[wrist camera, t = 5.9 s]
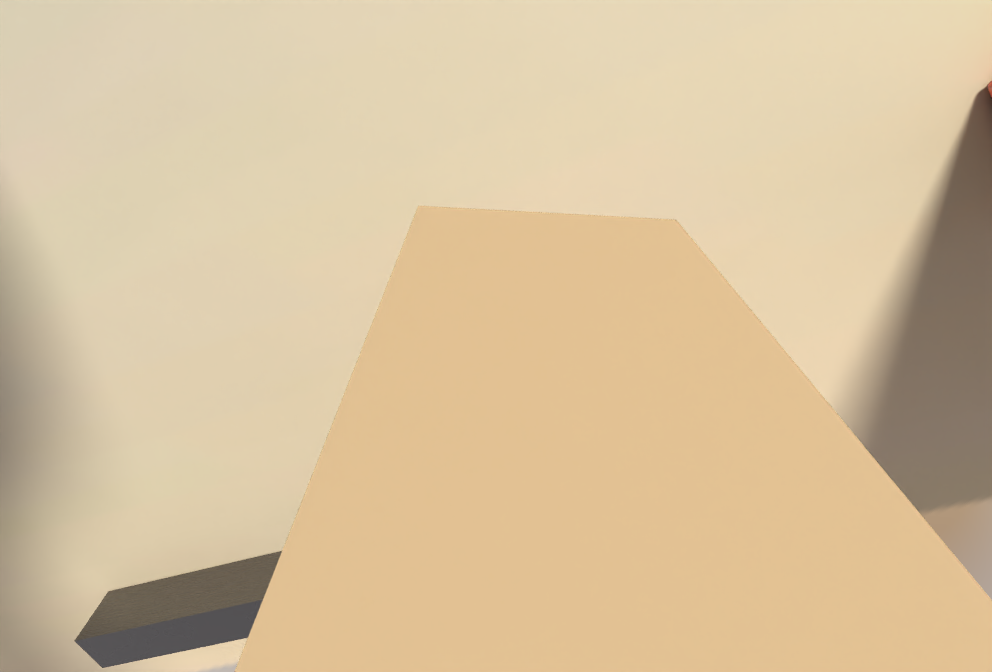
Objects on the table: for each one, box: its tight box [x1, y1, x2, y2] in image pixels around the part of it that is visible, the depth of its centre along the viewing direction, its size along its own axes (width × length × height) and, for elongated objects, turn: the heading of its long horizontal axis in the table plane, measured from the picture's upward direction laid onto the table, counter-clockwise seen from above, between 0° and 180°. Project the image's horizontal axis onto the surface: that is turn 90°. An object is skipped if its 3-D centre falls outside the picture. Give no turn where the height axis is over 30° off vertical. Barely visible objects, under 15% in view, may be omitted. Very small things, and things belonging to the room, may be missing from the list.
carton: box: [235, 206, 992, 672], centre depth 10 cm, size 10×5×10 cm, turn 177°
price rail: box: [75, 551, 282, 668], centre depth 31 cm, size 28×3×3 cm, turn 108°
